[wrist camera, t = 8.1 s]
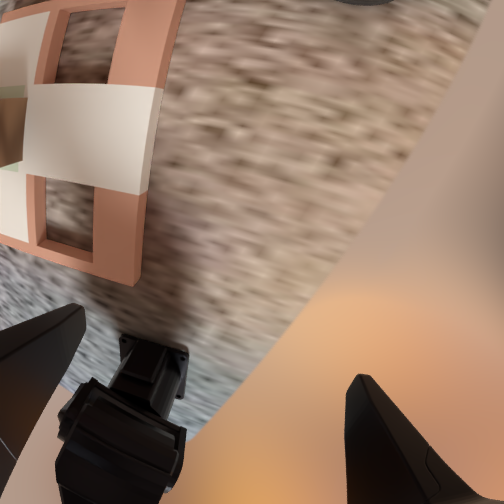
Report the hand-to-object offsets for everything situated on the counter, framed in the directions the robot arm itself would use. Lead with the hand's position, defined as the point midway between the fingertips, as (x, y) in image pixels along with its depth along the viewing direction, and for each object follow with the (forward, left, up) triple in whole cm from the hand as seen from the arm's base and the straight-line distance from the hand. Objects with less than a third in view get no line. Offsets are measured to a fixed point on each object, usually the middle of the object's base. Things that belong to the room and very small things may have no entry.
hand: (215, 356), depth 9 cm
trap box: (+4, +16, -13) cm, 21 cm away
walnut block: (+4, +21, -12) cm, 24 cm away
